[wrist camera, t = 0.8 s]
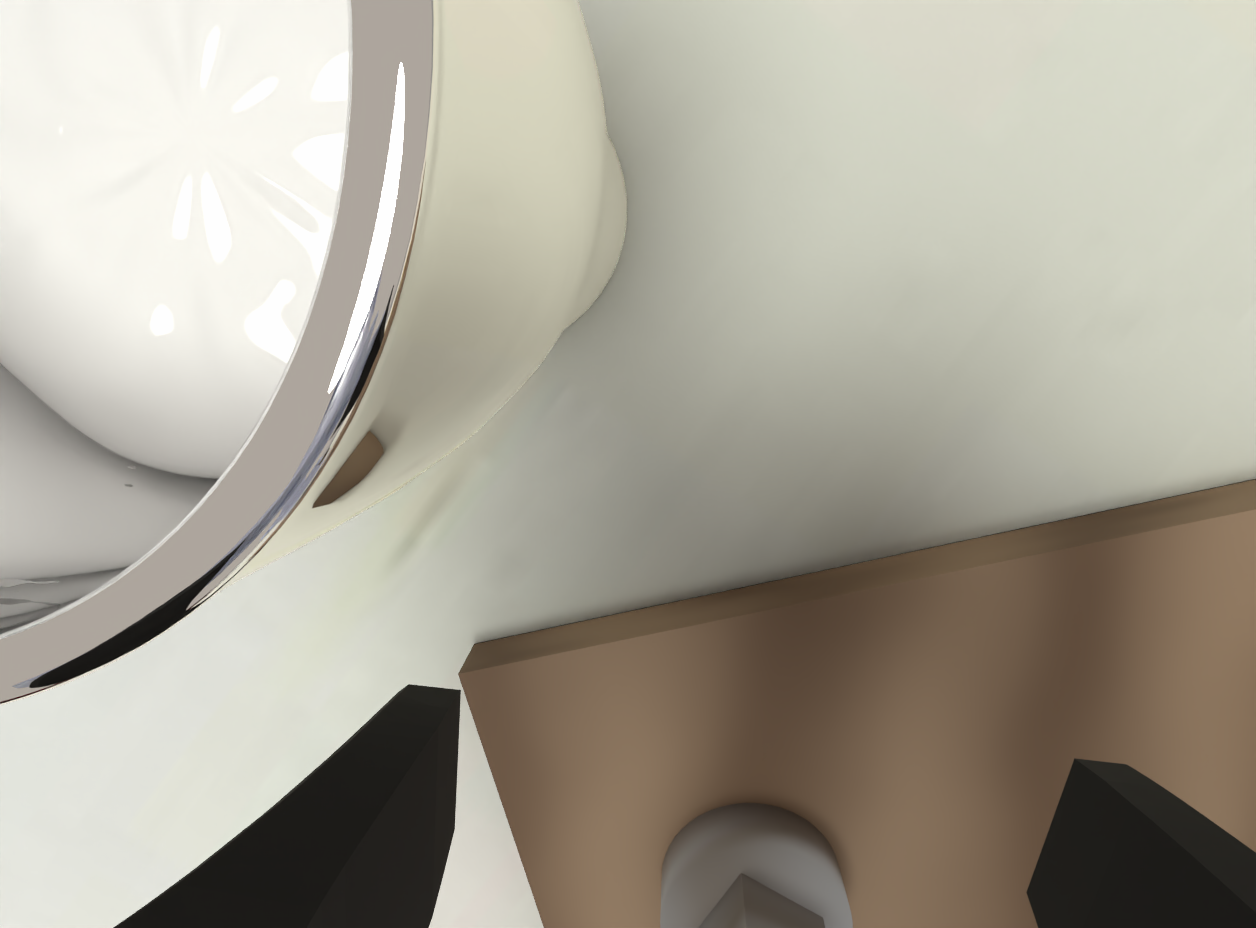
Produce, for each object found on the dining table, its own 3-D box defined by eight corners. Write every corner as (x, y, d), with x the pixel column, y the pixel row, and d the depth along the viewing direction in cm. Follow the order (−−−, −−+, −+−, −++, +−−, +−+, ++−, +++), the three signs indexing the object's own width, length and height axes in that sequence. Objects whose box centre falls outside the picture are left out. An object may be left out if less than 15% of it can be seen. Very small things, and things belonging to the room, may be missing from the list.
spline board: (1665, 393, 17) (2151, 459, 11) (1637, 923, 20) (2007, 1178, 15) (474, 644, 20) (395, 792, 15) (613, 1065, 23) (591, 1319, 18)
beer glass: (274, 166, 18) (-1609, -263, 3) (526, -36, 16) (-715, -2420, 2) (459, 423, 19) (-275, 977, 4) (708, 255, 18) (846, 242, 3)
